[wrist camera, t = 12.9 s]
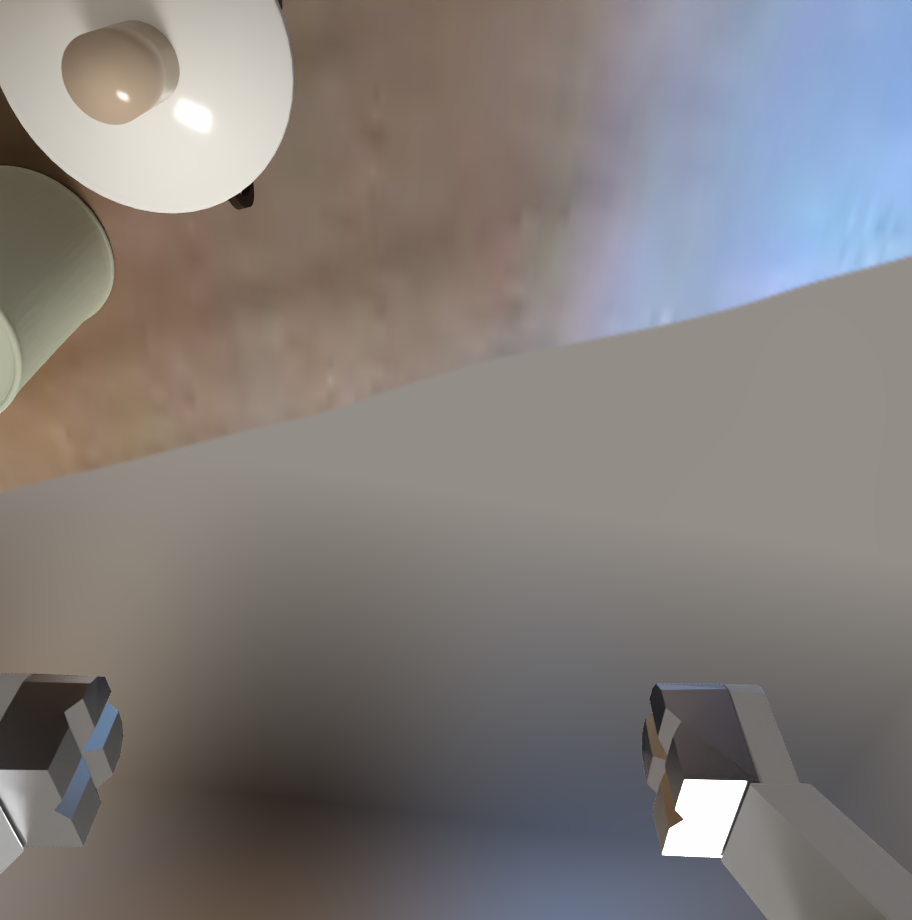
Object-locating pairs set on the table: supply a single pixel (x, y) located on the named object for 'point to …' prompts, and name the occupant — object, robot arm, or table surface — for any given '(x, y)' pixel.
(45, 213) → the can
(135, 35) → the lid
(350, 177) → the table surface
